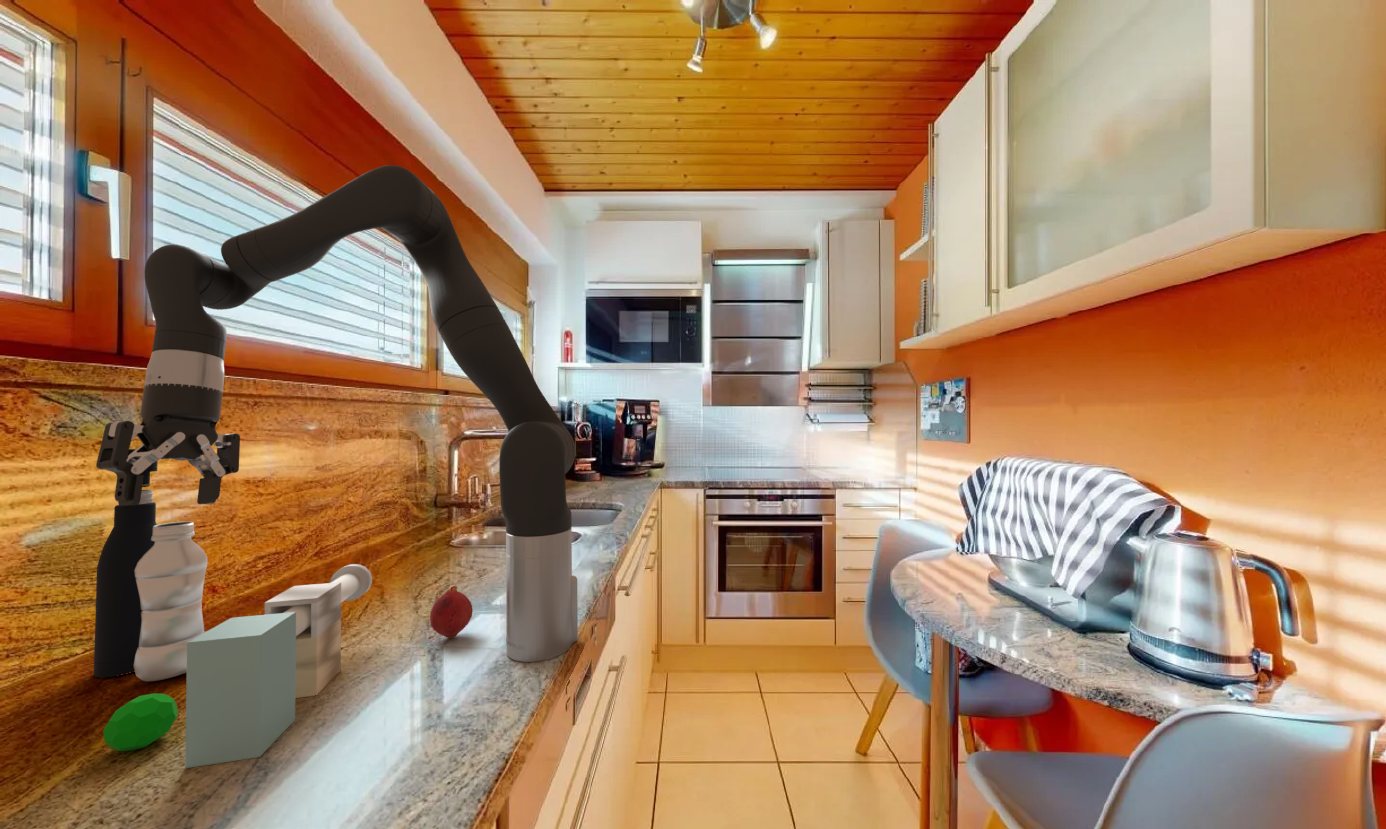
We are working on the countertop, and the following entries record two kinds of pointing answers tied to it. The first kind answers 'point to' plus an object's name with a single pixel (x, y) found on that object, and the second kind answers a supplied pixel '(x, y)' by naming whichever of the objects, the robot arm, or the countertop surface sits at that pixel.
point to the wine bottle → (122, 584)
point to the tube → (352, 587)
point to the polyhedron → (140, 722)
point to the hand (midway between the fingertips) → (170, 504)
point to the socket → (240, 688)
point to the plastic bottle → (169, 601)
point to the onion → (451, 613)
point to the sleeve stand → (314, 634)
